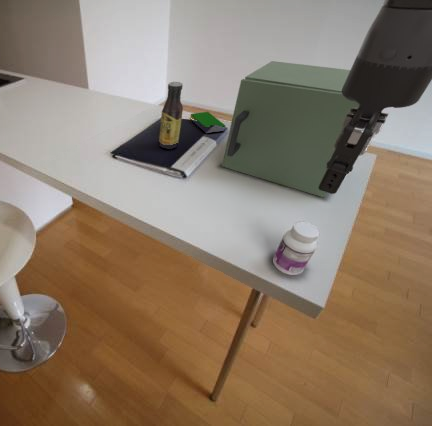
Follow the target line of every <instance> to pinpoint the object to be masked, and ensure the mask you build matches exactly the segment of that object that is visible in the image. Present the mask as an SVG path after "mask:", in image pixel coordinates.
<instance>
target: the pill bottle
mask: <svg viewBox="0 0 432 426" xmlns="http://www.w3.org/2000/svg"><path fill="white" fill-rule="evenodd" d="M320 233H321V232H320V230H319V228H318V227H317V226H316V225H314V224H312V223H311V222H307V221H297V222H295V223H294V224H293V226H292V227H291V229H289V230H287V231H286V232H285V233H284V234H283V236H282V238H281V239H280V240H281V241H280V242H279V245H278V247H277V249H276V251H275V253H274V255H273V258H272V262H273V265H274V267H275V268H276V269H277V270H279V271H280V272H281V273H283V274H286V275H291V276H296V275H300V274H301V273H303V272H304V270H305V268H306V266H307V265H308V263H309V261H310V260H311V258H312V256H313V255H314V253H315V252H316V250H317V248H318V240H317V239H318V238H319V236H320Z"/></svg>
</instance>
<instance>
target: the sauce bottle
mask: <svg viewBox="0 0 432 426" xmlns="http://www.w3.org/2000/svg"><path fill="white" fill-rule="evenodd" d="M183 84H184V83H182V82H180V81H170V82H169V83H168V85H167V97H166V100H165V102H164V105H163V107H162V110H161V116H160V127H159V128H160V129H159V137H158V142H160V143H161V144H163V145H173V144H176V143H178V144H179V141H180V135H181V134H180V133H181V128H182V127H181V126H182V120H183V110H184V106H183V104H182V102H181V98H182V97H181V96H182V90H183Z"/></svg>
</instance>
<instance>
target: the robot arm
mask: <svg viewBox="0 0 432 426" xmlns="http://www.w3.org/2000/svg"><path fill="white" fill-rule="evenodd" d="M349 70H350V72H349V75H348V77H347V79H346V81H345V84H344V86H343V88H342V94H343V96H344V97H345V98H347V99H349V100H351V101H356V102H357V103H359V108H353V107H352V108H351V110H350V112H349V113H348V114H347V115H346V117H345V119H344V121H343V123H342V130H341V132H340V134H339V136H338V138H337V140H336V142H335V143H334V147H333V148H334V149H335V151H334V153H333V155H332V157H331V159H330V160H329V161H328V163H327V167H326V168H328V169H327V171H326V173H325V175H324V177H323V179H322V181H321V183H320V185H319V187H318V188H319V190H321V191H324V192H327V194H331V195H334V194H336V193H337V192H338V190H339V189H340V187H341V185H342V184H343V181H344V179H345V178H346V176H347V175H349V173H351V172H352V171H353V170H354V165H355V163H356V161H357V159H358V158H359V157H360V156H364V155H365V154H366V152H367V150H368V149H369V147H370V145H371V142H372V141H373V139H374V138H375V135H378V134H379V133H380V132H381V130H382V128H383V126H384V125H385V123H386V122H387V121H386V120H387V118H388V116H389V113H387V112H383V110H385V109H388V108H395V109H402V108H407V107H411V106H413V105H416V104H417V103H418V102H419V101H420V99H421V98H422V96H423V94H424V93H425V92H426V91H427V89H428V87H429V85H430V84H431V82H432V0H384V1H383V3H382V6H381V7H380V10H379V12H378V13H377V15H376V17H375V18H374V20H373V21H372V23H371V24H370V26H369V29H368V31H367V32H366V35H365V37H364V39H363V42H362V44H361V46H360V48H359V50H358V53H357V54H356V57H355V59H354V62H353V63H352V66H351V68H350V69H349Z"/></svg>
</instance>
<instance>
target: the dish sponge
mask: <svg viewBox="0 0 432 426" xmlns="http://www.w3.org/2000/svg"><path fill="white" fill-rule="evenodd" d="M190 117H191V118H192V119H194V120H197V121H198V122H200V123H201V124H202V125H204V126H205V127H210V125H218V126H222V127H225V128H226V124H225V123H224V122H222V121H221V120H220V119H218V118H217V117H215V115H214V114H212V113H210V112H209V111H203V112H202V111H201V112H194V113H190ZM190 117H189V120H190V121H191V120H192V119H191V118H190Z"/></svg>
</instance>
